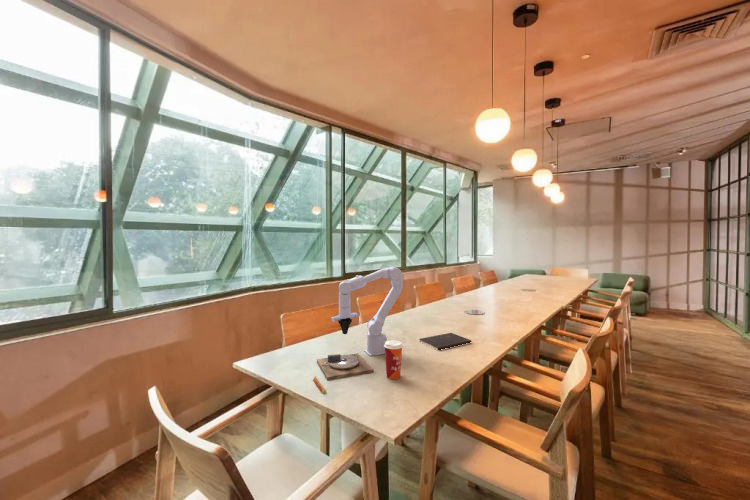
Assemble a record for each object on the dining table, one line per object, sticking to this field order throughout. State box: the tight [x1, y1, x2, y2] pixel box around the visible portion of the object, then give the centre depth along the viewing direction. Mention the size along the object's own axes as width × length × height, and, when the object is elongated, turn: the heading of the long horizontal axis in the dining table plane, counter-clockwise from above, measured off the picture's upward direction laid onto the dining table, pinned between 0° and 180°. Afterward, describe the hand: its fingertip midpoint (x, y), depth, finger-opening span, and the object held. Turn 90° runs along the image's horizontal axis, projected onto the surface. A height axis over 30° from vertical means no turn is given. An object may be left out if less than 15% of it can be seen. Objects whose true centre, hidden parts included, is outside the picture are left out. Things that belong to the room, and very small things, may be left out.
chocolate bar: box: [312, 375, 328, 395], centre depth 122 cm, size 3×12×2 cm, turn 27°
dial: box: [327, 354, 359, 370], centre depth 140 cm, size 13×14×4 cm
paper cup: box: [384, 339, 404, 380], centre depth 130 cm, size 8×8×14 cm
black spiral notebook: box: [419, 332, 472, 351], centre depth 172 cm, size 16×23×2 cm
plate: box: [316, 353, 374, 381], centre depth 140 cm, size 20×20×1 cm
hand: (344, 333), depth 155 cm, fingers closed
